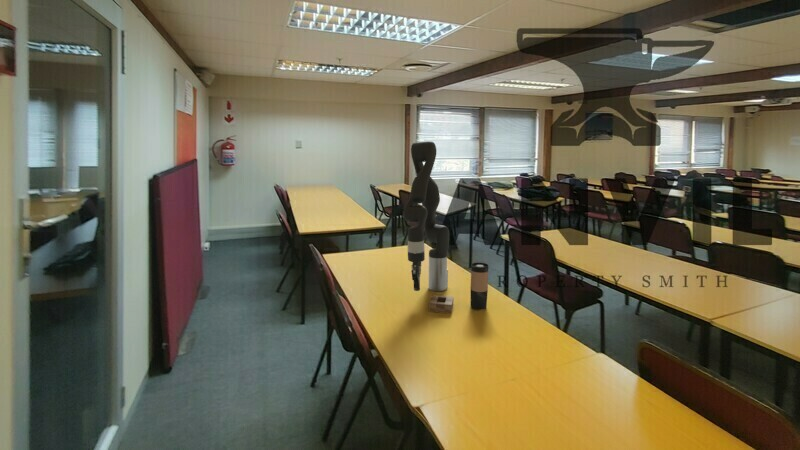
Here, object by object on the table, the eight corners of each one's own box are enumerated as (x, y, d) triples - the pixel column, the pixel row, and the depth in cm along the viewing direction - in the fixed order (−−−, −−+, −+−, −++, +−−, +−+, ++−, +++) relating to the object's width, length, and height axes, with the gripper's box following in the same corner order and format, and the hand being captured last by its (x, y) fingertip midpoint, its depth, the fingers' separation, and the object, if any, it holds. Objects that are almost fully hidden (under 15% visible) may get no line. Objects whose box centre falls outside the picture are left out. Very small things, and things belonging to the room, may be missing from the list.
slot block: (432, 303, 192) (432, 295, 192) (453, 304, 190) (453, 296, 190) (428, 311, 183) (429, 303, 182) (451, 313, 181) (451, 304, 180)
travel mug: (488, 305, 189) (490, 263, 185) (484, 311, 183) (486, 268, 179) (472, 302, 193) (473, 261, 189) (467, 308, 186) (469, 266, 182)
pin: (416, 288, 189) (416, 267, 187) (421, 289, 187) (420, 268, 185) (412, 289, 187) (412, 269, 185) (417, 291, 185) (416, 270, 183)
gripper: (410, 245, 191) (411, 280, 194) (405, 254, 177) (406, 291, 181) (426, 245, 189) (426, 281, 193) (422, 254, 176) (423, 292, 180)
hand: (416, 286), depth 187 cm, fingers closed on pin, 2 cm apart
